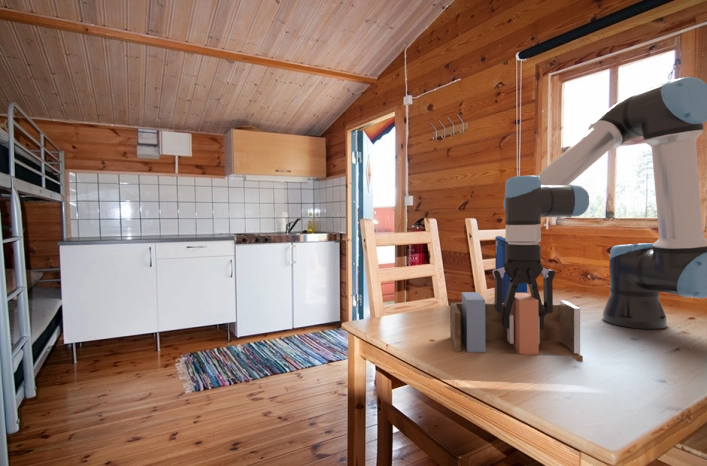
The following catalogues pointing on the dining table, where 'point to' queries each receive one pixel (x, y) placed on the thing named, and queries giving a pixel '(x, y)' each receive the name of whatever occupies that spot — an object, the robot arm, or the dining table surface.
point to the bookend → (570, 326)
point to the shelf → (498, 333)
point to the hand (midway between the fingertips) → (523, 341)
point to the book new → (525, 324)
